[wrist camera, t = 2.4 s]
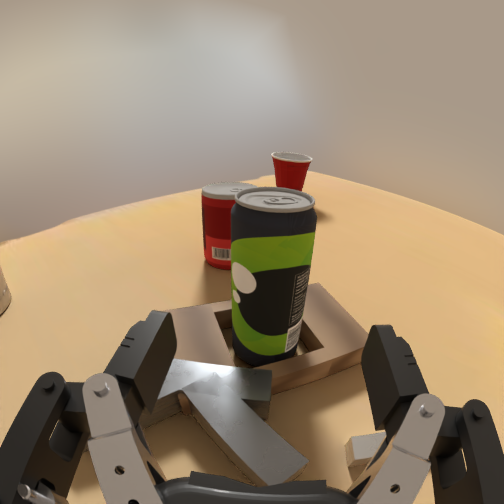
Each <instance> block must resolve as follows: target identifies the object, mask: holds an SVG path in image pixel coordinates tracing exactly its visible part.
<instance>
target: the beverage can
mask: <svg viewBox="0 0 504 504" xmlns="http://www.w3.org/2000/svg"><path fill="white" fill-rule="evenodd" d="M235 201H236V203H235V204H234V205H233V207H232V209H231V293H232V342H233V348H234V351H235V352H236V354H237V355H238V356H239V357H240V358H241V359H242V360H243V361H245V362H247V363H249V364H251V365H253V366H256V367H260V366H264V365H267V364H271V363H275V362H278V361H282V360H286V359H289V358H292V356H293V355H294V354H295V352H296V349H297V344H298V339H299V334H300V328H301V323H302V317H303V311H304V306H305V300H306V293H307V287H308V281H309V274H310V267H311V260H312V253H313V246H314V238H315V230H316V222H317V215H316V212H315V211H314V209H313V206H314V205H315V199H314V198H313V197H312V196H311V195H309V194H307V193H304V192H301V191H298V190H293V189H288V188H280V187H255V188H248V189H244V190H241V191H239V192H237V193H236V194H235Z"/></svg>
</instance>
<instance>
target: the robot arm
mask: <svg viewBox="0 0 504 504" xmlns="http://www.w3.org/2000/svg"><path fill="white" fill-rule="evenodd" d="M10 301H11V293H10V291H9V288H8V286H7V283H6V281H5V278H4V275H3V273H2V270H1V267H0V314H1V313H3V312H4V310H5V309H6V308H7V307H8V305H9V303H10ZM176 350H177V338H176V333H175V328H174V323H173V318H172V314H171V313H170V312H163V311H156V310H152V311H151V312H150V314H149V316H148V317H147V319H146V321H139V322H138V323H136V324H135V325H134V326H132V327H131V328H130V330H129V331H128V333H127V334H126V336H125V339H123V341H122V342H121V346H119V347H118V349H117V351H116V352H115V354H114V356H113V357H112V359H111V361H110V362H109V364H108V366H107V367H106V369H105V371H104V372H103V373H99V374H95V375H93V376H91V377H90V378H88V379H87V380H86V382H85V383H79V382H66V381H65V380H64V378H63V377H62V375H60V374H59V373H57V372H48V373H45V374H43V375H42V376H40V377H39V379H38V380H37V381H36V383H35V385H34V386H33V388H32V390H31V391H30V393H29V395H28V396H27V398H26V400H25V401H24V403H23V405H22V407H21V408H20V410H19V412H18V414H17V416H16V418H15V419H14V421H13V423H12V425H11V427H10V429H9V431H8V433H7V435H6V437H5V439H4V441H3V443H2V445H1V447H0V504H69V503H68V501H67V500H66V498H67V495H68V492H69V489H70V486H71V483H72V480H73V478H74V475H75V472H76V469H77V466H78V464H79V461H80V458H81V456H82V453H83V450H84V448H85V445H86V443H87V440H88V447H89V451H90V455H91V459H92V462H93V466H94V469H95V472H96V475H97V478H98V481H99V484H100V487H101V490H102V493H103V496H104V498H105V501H106V503H107V504H412V503H413V501H414V500H415V498H416V496H417V494H418V492H419V490H420V488H421V486H422V484H423V482H424V480H425V478H426V476H427V474H428V472H429V469H430V467H431V473H432V480H433V488H434V497H435V504H504V454H503V451H502V447H501V444H500V440H499V437H498V434H497V431H496V428H495V425H494V422H493V419H492V416H491V414H490V411H489V409H488V407H487V405H486V404H485V403H483V402H482V401H480V400H477V399H473V400H470V401H468V402H467V403H466V404H465V405H464V406H463V407H462V408H458V407H449V406H444V404H443V403H442V401H441V400H440V399H439V398H438V397H436V396H435V395H432V394H429V392H428V389H427V387H426V384H425V382H424V379H423V377H422V374H421V372H420V369H419V367H418V365H417V362H416V359H415V357H413V352H412V350H411V348H410V346H409V344H408V343H407V342H406V341H405V340H404V339H403V338H402V337H396V334H395V332H394V330H393V327H392V326H391V325H373V326H372V327H371V329H370V332H369V335H368V338H367V340H366V343H365V346H364V349H363V351H362V356H361V365H362V370H363V374H364V378H365V382H366V387H367V391H368V396H369V400H370V405H371V410H372V415H373V420H374V425H375V430H376V431H377V430H385V431H386V436H385V437H384V439H383V441H382V442H381V444H380V446H379V447H378V449H377V451H376V452H375V454H374V455H373V457H372V458H371V460H370V462H369V463H368V465H367V466H366V468H365V469H364V471H363V472H362V473H361V475H360V476H359V477H358V478H357V479H356V480H355V482H354V483H353V484H352V485H351V486H350V488H349V489H348V490H347V492H344V491H342V490H339V489H336V488H332V487H328V486H326V480H315V481H291V482H286V483H281V484H276V485H270V486H264V487H255V486H251V485H248V484H245V483H242V482H239V481H236V480H233V479H230V478H227V477H224V476H218V475H211V474H205V473H200V472H194V471H191V474H190V477H182V478H176V479H171V480H168V481H167V479H166V477H165V475H164V473H163V471H162V470H161V468H160V466H159V465H158V463H157V461H156V459H155V457H154V455H153V453H152V451H151V449H150V446H149V444H148V442H147V439H146V437H145V434H144V432H143V429H142V427H141V424H140V422H139V418H140V416H141V413H143V414H147V415H151V414H152V411H153V409H154V406H155V404H156V401H157V399H158V396H159V394H160V391H161V389H162V386H163V384H164V381H165V379H166V376H167V374H168V371H169V369H170V366H171V364H172V361H173V359H174V356H175V354H176ZM57 421H58V423H57ZM56 423H57V425H56ZM55 425H56V427H55ZM54 427H55V429H54ZM53 430H54V431H53ZM52 432H53V433H52ZM90 433H91V438H89V435H90ZM51 434H52V436H51ZM50 436H51V438H50ZM88 438H89V439H88ZM49 439H50V440H49ZM462 448H463V452H464V457H465V461H466V466H467V472H466V467H465V463H464V458H463V454H462ZM428 458H429V460H428Z"/></svg>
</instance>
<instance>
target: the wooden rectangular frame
mask: <svg viewBox="0 0 504 504" xmlns="http://www.w3.org/2000/svg"><path fill="white" fill-rule="evenodd" d="M163 312H170V313H171V314H172V318H173V323H174V328H175V333H176V338H177V350H176V354H175V356H174V358H175V359H181V360H187V361H194V362H200V363H208V364H215V365H223V366H232V367H235V364H234V362H233V360H232V357H231V355H230V352H229V350H228V347H227V345H226V343H225V340H224V338H223V335H222V332H221V330H220V329H224V328H230V327H232V300H227V301H221V302H215V303H210V304H203V305H197V306H191V307H185V308H178V309H172V310H165V311H163ZM368 335H369V334H368V333H367V332H366V331H365V330H364V329H363V328H362V327H361V326H360V325H359V324H358V323H357V322H356V320H355V319H354V318H353V317H352V316H351V315H350V314H349V313H348V312H347V311H346V310H345V309H344V308H343V307H342V306H341V305H340V304H339V303H338V302H337V301H336V300H335V299H334V298H333V297H332V296H331V295H330V294H329V293H328V292H327V291H326V290H325V289H324V288H323V287H322V286H321V285H320V284H319V283H315V284H310V285H308V287H307V293H306V300H305V306H304V311H303V317H302V323H301V328H300V334H299V337H300V339H301V340H302V341H303V343H304V344H305V346H306V347H307V348H308V350H309V351H310V352H309V353H306V354H302V355H299V356H296V357H292V358H289V359H286V360H282V361H278V362H275V363H271V364H267V365H264V366H260V367H256V368H253V369H266V370H272V383H271V395H273V394H276V393H279V392H283V391H286V390H289V389H292V388H295V387H298V386H301V385H304V384H307V383H310V382H313V381H316V380H318V379H321V378H324V377H326V376H329V375H332V374H334V373H337V372H339V371H342V370H344V369H347V368H349V367H352V366H354V365H356V364H359V363H361V356H362V351H363V349H364V346H365V343H366V340H367V338H368ZM178 398H179V402H180V405H181V408H182V411H183V414H184V415H187V414H191V411H190V407H189V404H188V400H187V397H186V396H185V395H184V394H182V393H179V394H178Z"/></svg>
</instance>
